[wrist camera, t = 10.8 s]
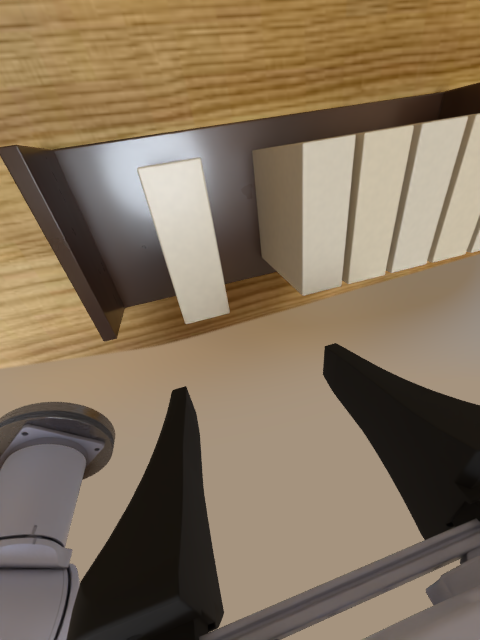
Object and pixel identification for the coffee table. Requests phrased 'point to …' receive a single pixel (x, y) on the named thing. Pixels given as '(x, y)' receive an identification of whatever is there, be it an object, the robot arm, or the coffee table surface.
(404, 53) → the coffee table surface
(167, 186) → the cream book
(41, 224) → the book rack
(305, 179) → the cream books
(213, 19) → the coffee table surface
